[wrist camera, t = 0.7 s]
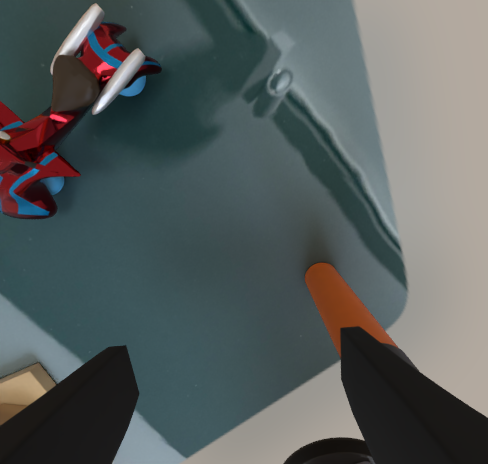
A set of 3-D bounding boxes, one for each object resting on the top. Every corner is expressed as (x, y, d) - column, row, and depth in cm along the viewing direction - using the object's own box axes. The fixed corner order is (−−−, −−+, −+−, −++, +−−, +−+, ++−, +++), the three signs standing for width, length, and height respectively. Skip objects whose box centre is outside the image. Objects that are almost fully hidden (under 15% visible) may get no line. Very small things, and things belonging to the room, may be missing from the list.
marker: (342, 284, 18) (432, 403, 9) (311, 297, 18) (368, 423, 9) (330, 256, 17) (414, 352, 8) (298, 269, 17) (347, 376, 9)
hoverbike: (1, 175, 16) (-125, 182, 11) (117, 18, 14) (30, -76, 8) (66, 231, 17) (-20, 263, 12) (186, 92, 15) (148, 50, 9)
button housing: (115, 457, 22) (99, 492, 20) (26, 488, 24) (0, 525, 21) (38, 362, 20) (9, 389, 17) (-57, 403, 21) (-96, 433, 19)
